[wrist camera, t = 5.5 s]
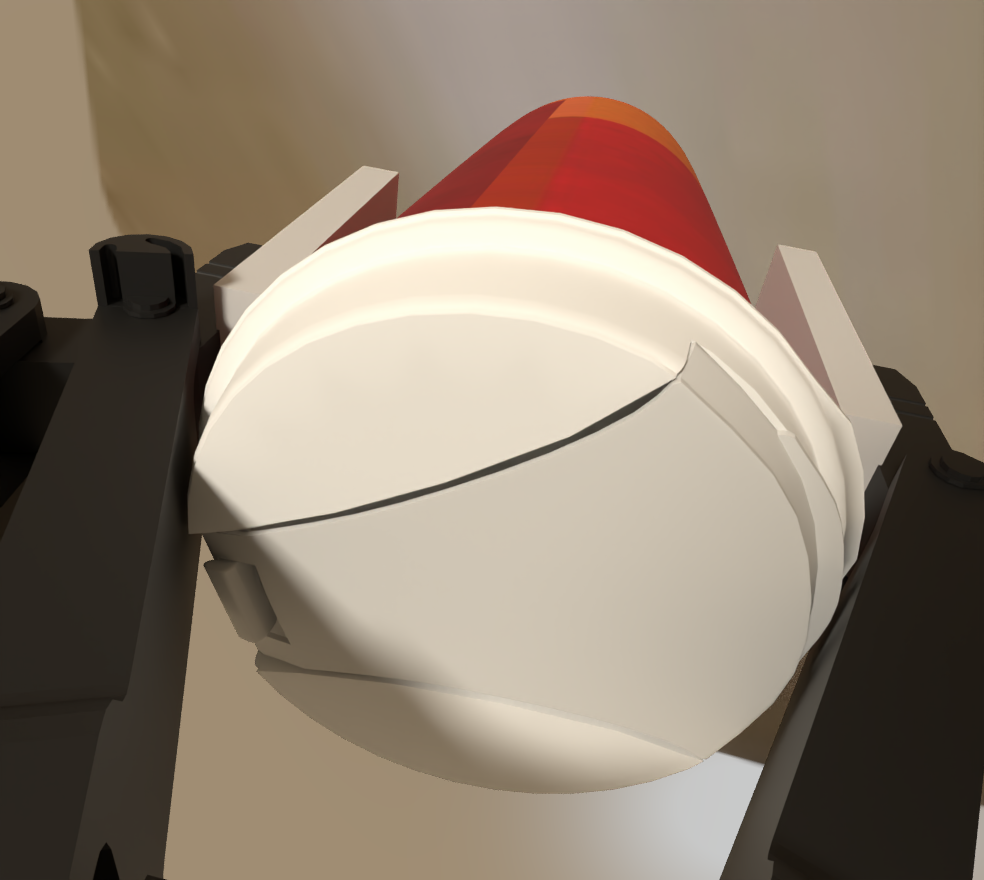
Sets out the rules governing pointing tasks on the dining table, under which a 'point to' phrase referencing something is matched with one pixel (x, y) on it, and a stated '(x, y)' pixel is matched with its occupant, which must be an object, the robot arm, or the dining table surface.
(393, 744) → the paper cup
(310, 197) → the dining table surface
